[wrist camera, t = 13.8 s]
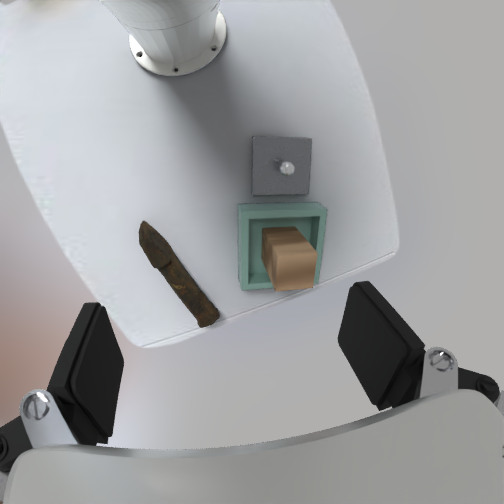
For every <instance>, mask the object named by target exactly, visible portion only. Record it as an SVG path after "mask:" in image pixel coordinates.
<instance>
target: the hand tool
mask: <svg viewBox="0 0 504 504" xmlns="http://www.w3.org/2000/svg"><path fill="white" fill-rule="evenodd" d="M139 243H140V246H141V247H142V249H143V251H144V253H145V254H146V256H147V257H148V259H149V261H150V263H151V264H152V266H153V267H154V268H157V269H158V270H159V271H160V272H161V274H162V275H163V276H164V277H165V279H166V281H167V282H168V283H169V285H170V286H171V287H172V289H173V290H174V292H175V293H176V294H177V295H178V297H179V298H180V299H181V301H182V302H183V303H184V304H185V306H186V307H187V308H188V309H189V311H190V312H191V313H192V314H193V315H194V317H195V318H196V319H197V321H198V325H199V327H200V328H203V327H207V326H209V325H212V324H213V323H214V322H215V321H216V320H217V319H218V318H219V316H220V315H219V312H218V309H217V308H214V307H213V305H212V303H211V302H209V301H208V300H207V298H206V297H205V295H204V294H203V292H202V291H201V290H200V289H199V288H198V287H197V285H196V284H195V282H194V280H193V279H192V278H191V277H190V276H189V274H188V273H187V271H186V270H185V269H184V267H183V266H182V264H181V263H180V262H179V260H178V259H177V257H176V256H175V255H174V253H173V251H172V249H171V246H170V245H169V244H168V242H167V241H166V240H165V239H164V238H163V237H162V236H161V235H160V234H159V233H158V232H157V231H156V230H155V229H154V228H153V227H152V226H150V225H149V224H148V223H147V222H145V221H143V222H142V223H141V226H140V229H139Z"/></svg>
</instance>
